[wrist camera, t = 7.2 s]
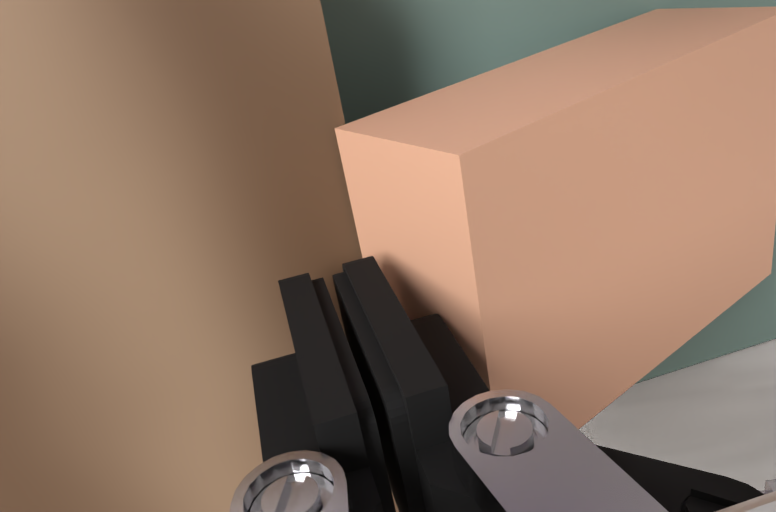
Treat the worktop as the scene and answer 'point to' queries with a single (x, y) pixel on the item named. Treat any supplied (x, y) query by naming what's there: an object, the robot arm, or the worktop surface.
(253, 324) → the brown block
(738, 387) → the worktop surface
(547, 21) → the mat
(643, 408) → the worktop surface
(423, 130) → the peach rectangular block
